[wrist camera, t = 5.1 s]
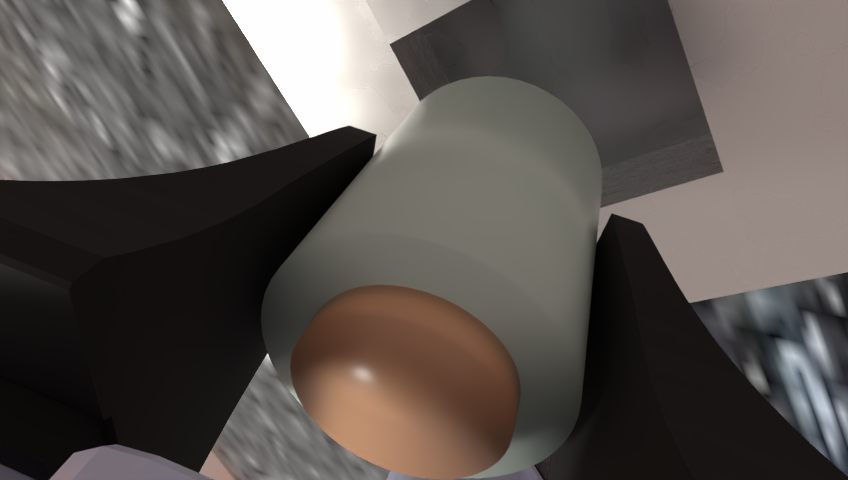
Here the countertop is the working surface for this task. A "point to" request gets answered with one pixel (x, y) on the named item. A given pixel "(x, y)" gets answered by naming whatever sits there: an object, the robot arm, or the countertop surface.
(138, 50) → the countertop surface
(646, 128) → the beige square slab
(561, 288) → the cylinder with orange cap
